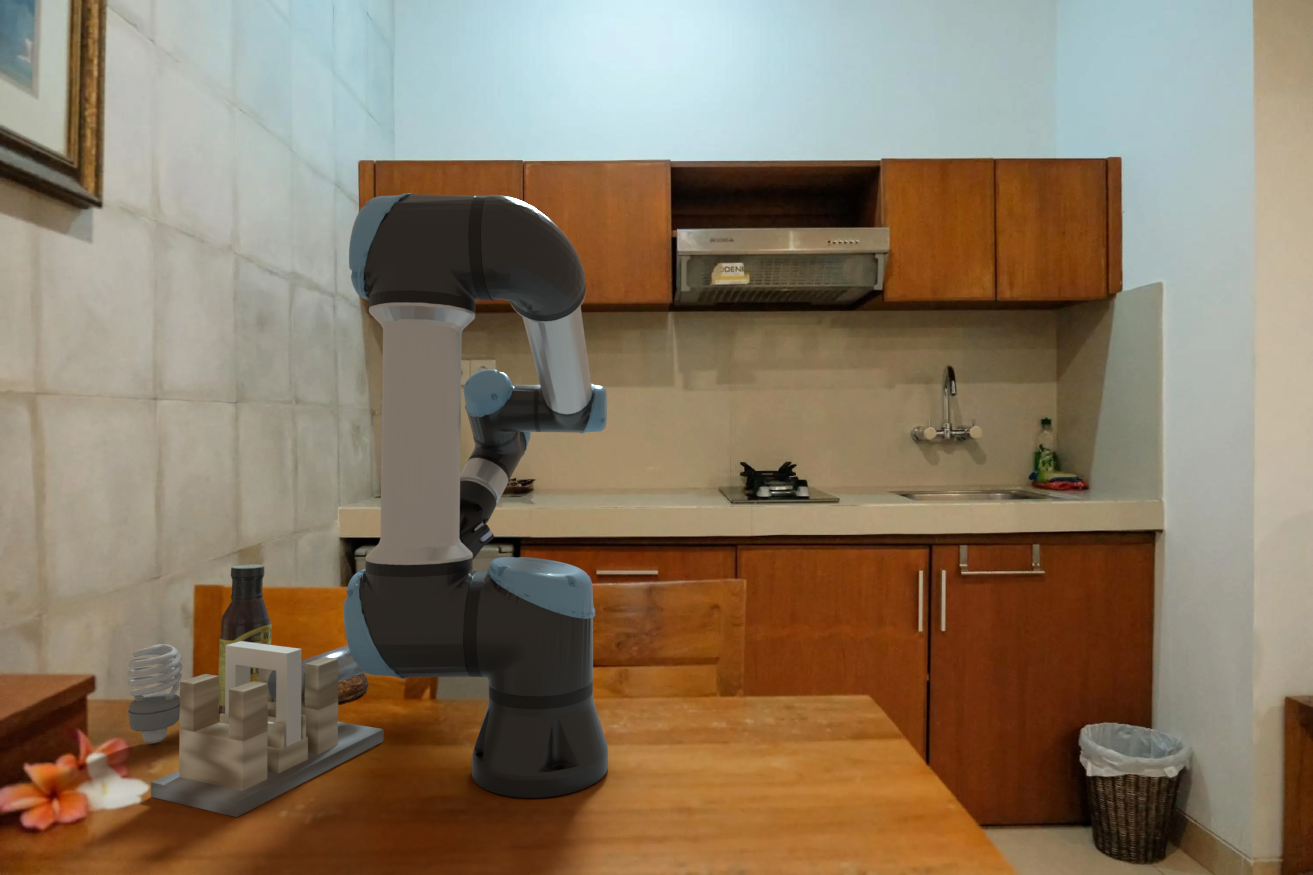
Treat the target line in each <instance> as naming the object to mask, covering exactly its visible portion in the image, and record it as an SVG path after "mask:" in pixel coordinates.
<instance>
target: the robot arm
mask: <svg viewBox="0 0 1313 875" xmlns="http://www.w3.org/2000/svg"><path fill="white" fill-rule="evenodd" d="M348 249H349V250H348V265H349V266H348V268H349V270H351V274H350V275H351V276H350V279H351V283H352V284H351V285H352V286H353V289H354V290H355V293H356V294H357V295H358V296H359V297H360V298H361V299H364V300H366V301H367V302H368V312H369V314H370V315H371V316H372V317H373V319H374V320H376V321H377V322H378V324H380V326H381V328H382V378H381V379H382V384H381V386H382V389H381V390H382V391H381V393H382V394H381V395H382V396H381V400H382V402H381V403H382V404H381V457H380V460H381V461H380V463H381V464H380V466H381V468H380V469H381V470H380V472H381V473H380V474H381V475H380V537H379V538H380V539H379V541H378V543H377V545H376V546H375V547H374V548H373V549H372V550H371V551H370V552H369V553H367V555H366V556H365V568H364V569H361V570H360V571H357V572H356V573H355V574H354V575H353V576H352V577H351V579H350V580H349V582H348V584H347V588H346V596H347V597H346V598H345V599H344V602H343V625H344V626H343V627H344V631H345V632H344V633H345V637H346V638H345V639H346V643H347V645H348V647H349V650H350V652H351V655H352V657H353V659H354V660H355V661H356V662H357V664H358V666H359V667H360V668H361V669H362V670H363V671H365V672H366V673H365V674H369V675H372V676H378V677H379V676H380V677H381V676H382V677H394V678H397V679H402V680H406V679H409V678H487V679H488V704H487V708H486V711H485V713H484V716H483V720H482V722H481V727H480V728H479V731H478V736H477V737H476V738H477V739H476V741H475V745H474V748H473V750H472V757H471V758H472V759H471V760H472V761H471V767H472V768H471V774H472V775H471V776H472V779H473V780H474V782H475V784H477V785H478V786H479V787H481V788H482V789H484V790H485V791H489V792H491V793H494V794H497V795H501V796H506V797H512V798H513V797H514V798H527V799H528V798H531V799H533V798H534V799H536V798H549V797H557V796H558V797H559V796H561V795H563V796H564V795H567V794H568V795H569V794H572V793H574V792H579V791H581V790H584V789H587V788H588V787H591V786H592V785H594V784H596V783H598V782H599V781H600V780H602V778H604V777H605V775H606V774H607V771H608V769H609V746H608V742H607V740H606V736H605V732H604V730H603V727H602V723H601V720H600V717H599V714H598V711H597V708H596V704H595V701H594V655H593V654H594V643H593V642H594V639H593V638H594V637H593V636H594V635H593V634H594V632H593V629H594V626H593V625H594V620H593V619H594V618H595V616H596V609H595V607H594V597H593V594H594V593H593V583H592V579H591V576H590V575H589V574H588V573H587V572H586V571H585V570H583V569H581V568H580V567H577V566H576V565H572V564H569V563H565V562H561V561H556V560H552V559H547V558H546V559H545V558H537V557H530V556H529V557H527V556H519V557H514V556H504V557H503V556H502V557H497V558H494V559H492V560H491V561H490V563H489V565H488V567H487V570H486V571H485V570H474V568H473V566H474V565H473V561H474V559H475V558H476V557H477V555H478V554H479V553H480V552H481V551H482V549H483V548H484V547H485V546H486V545H487V544H489V543H490V542H491V541H492V540H494V539H495V534H494V533H493V532H492V529H491V528H490V526H489V525H488V524H487V523H488V522H489V521H490V520H491V517H492V516H493V513H494V511H495V509H496V507H497V504H498V503H499V501H500V499H501V498H502V495H503V493H504V491H505V490H506V487H507V485H508V484H509V481H510V480H511V478H512V476H513V474H514V472H515V470H516V469H517V467H518V464H520V461H521V459H522V458H523V456H524V455H525V453H526V451H527V450H528V445H529V442H530V440H531V436H532V435H531V433H579V434H585V433H599V432H602V431H604V430H605V429H606V427H607V420H608V419H607V418H608V417H607V416H608V414H607V413H608V398H607V397H608V396H607V389H606V388H605V387H604V386H602V385H597V384H594V383H592V381H591V380H592V379H591V373H590V364H589V358H588V351H587V343H586V337H585V329H584V324H583V323H584V322H583V321H584V320H583V316H582V315H583V314H582V306H581V305H582V304H583V303H584V300H585V297H586V295H587V294H586V293H587V285H586V284H587V283H586V276H585V275H586V274H585V270H584V266H583V263H582V261H581V259H580V258H581V257H579V256H580V255H579V254H578V252H577V250H576V248H575V247H574V245H573V244H572V242H571V241H570V240H569V238H568V236H567V235H566V233H564V232H563V231H562V229H560V227H559V226H558V225H557V224H556V223H554V222H553V220H552V219H551V218H549V216H546V215H545V214H544V213H543V212H541V211H540V210H538V209H537V208H536V207H535V206H533V205H531V204H528V203H527V202H525V201H523V200H520V199H518V198H515V197H512V196H506V195H500V194H488V195H468V194H467V195H466V194H465V195H464V194H463V195H461V194H423V193H422V194H414V193H411V192H410V193H406V192H404V193H402V194H397V195H380V196H375V197H372V198H371V199H369V200H368V201H367V202H366V203H365V204H364V205H363V207H361V209H360V210H359V211H358V213H357V215H356V218H355V220H354V223H353V226H352V229H351V234H350V238H349V248H348ZM495 300H496V301H497V300H499V301H500V300H501V301H502V300H503V301H507V302H509V303H510V305H511V307H512V309H513V310H514V311H515V312H516V313H517V314H518V315H519V316H521V317H522V320H523V324H524V329H525V332H526V336H527V339H528V343H529V347H530V352H531V354H532V358H533V359H532V360H533V362H534V366H535V370H536V373H537V377H538V378H537V379H538V382H539V384H513V382H512V381H511V379H510V377H509V376H508V375H507V374H506V373H505V372H501V371H500V370H498V369H493V368H492V369H490V368H489V369H483V370H479V371H477V372H475V373H473V374H472V375H470V376H469V377H468V379H467V380H466V381H465V383H464V385H463V397H464V404H465V406H464V409H465V411H466V413H467V414H466V415H467V417H468V423H469V425H470V430H471V432H472V433H471V434H472V436H473V442H474V448H473V450H472V452H471V454H470V455H469V458H468V459H467V461H466V463H465V465H464V466H463V468H462V469H461V433H462V432H461V428H462V427H461V426H462V425H461V423H462V420H461V419H462V418H461V417H462V413H461V412H462V410H461V409H462V336H463V335H462V333H463V331H464V329H465V328H466V327H467V326H469V324H471V323H472V321H474V320H475V318H476V304H477V303H476V302H477V301H495Z"/></svg>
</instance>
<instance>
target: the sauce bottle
mask: <svg viewBox="0 0 1313 875" xmlns="http://www.w3.org/2000/svg"><path fill="white" fill-rule="evenodd" d="M230 577H231V580H232V582H231V584H232V586H231V595H230V598H231V599H230V600H231V601H230V603H229V605H228V606H227V608H226V609H225V611H224V612H223V614H222V617H221V621H220V637H219V644H218V645H219V650H218V652H219V654H218V676H219V717H220V714H222V713H223V714H225V650H226V645H228V644H232V643H236V642H239V641H244V642H252V643H259V644H267V645H272V628H273V626H272V625H273V624H272V622H271V619H270V616H269V613H268V611H267V608H266V604H265V601H264V598H263V596H264V593H263V579H264V577H265V566H264V565H263V564H242V565H240V564H239V565H234V566H232V567H231V568H230ZM253 681H255V682H259V668H255V667H250V682H253Z"/></svg>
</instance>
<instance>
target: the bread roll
mask: <svg viewBox="0 0 1313 875" xmlns="http://www.w3.org/2000/svg"><path fill="white" fill-rule="evenodd" d="M368 687H369V679H368V678H367V675H366V673H362V674H360V675H357V676H355V677H352V678H349V679H347V680H344V681H342V682H339V683H338V704H339V703H342V702H347V701H353V700H355V699H357V698H358V697H360V696H362V695H364V694H365V693H366V692H367V690H368ZM303 697H305V696H303Z"/></svg>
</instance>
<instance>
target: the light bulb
mask: <svg viewBox="0 0 1313 875" xmlns="http://www.w3.org/2000/svg"><path fill="white" fill-rule="evenodd" d="M151 655H153V656H154V657H142V658H137V657H141V656H151ZM132 656H133V658H135V659H131V660H129V662H128V663H127V666H128V667H129V668H131V669H129V670H128V671H127V674H126V675H127V676H128V677H130V679H129V680H128V681H127V685H128V686H129V687H143V688H139V689H137V688H136V689H135V688H133V689H131V690H130V691H129V694H130V695H131V696H132V697H134V700H133V701H131V702H130V704H129V705H128V720H129V727H130V729H131V730H133V731H135V732H141V734H142V735H141V736H142V740H143V741H144V742H145V743H147V744H150V745H154V744H155V745H156V744H159V743H160V742H161V741H163V740H164V739H165V738H166V737H167V734H168V728H169V727H172V726H174V725H175V724H177V723H178V722H179V721H180V695H178V694H176V693H177V692H178V691H179V689H180V681H182V677H183V676H182V674H183V673H182V672H181V671H183V664H182V660H183V657H182V655H181V654H180V653H179V651H178V650H177V648H176V647H175V646H172V645H170V644H163V643H159V644H155V645H154V644H153V645H151V646H148V647H145V648H141V649H137V650H134V652H132ZM152 665H158V666H152ZM155 674H160V675H155ZM173 677H174V678H173ZM154 684H158V685H155V686H151V687H145V686H149V685H154ZM144 687H145V688H144ZM170 688H171V690H170V692H169V693H158V692H162V691H165V690H167V689H170ZM155 693H157V694H155ZM145 695H146V696H145Z"/></svg>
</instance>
